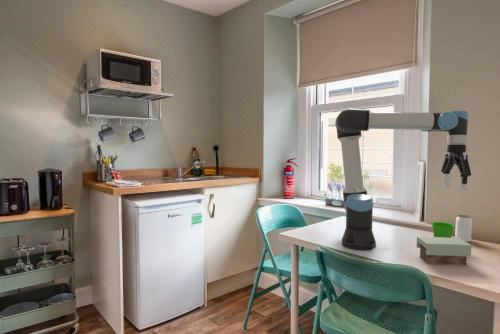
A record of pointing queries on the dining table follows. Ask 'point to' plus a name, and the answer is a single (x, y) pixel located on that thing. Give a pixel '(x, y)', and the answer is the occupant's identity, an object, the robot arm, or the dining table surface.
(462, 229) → the can
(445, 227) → the cup
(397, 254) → the dining table surface
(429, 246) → the lid
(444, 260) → the box
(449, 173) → the robot arm
